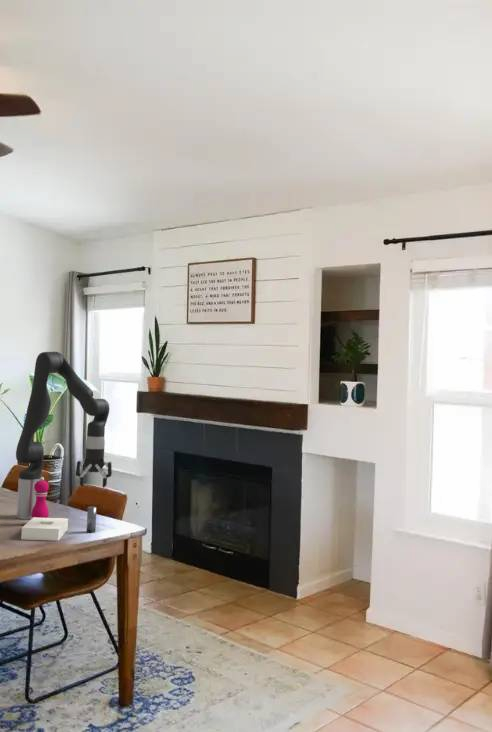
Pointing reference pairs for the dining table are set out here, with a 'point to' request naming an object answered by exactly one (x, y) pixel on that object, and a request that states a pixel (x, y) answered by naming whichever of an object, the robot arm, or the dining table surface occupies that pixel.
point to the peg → (91, 519)
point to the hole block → (44, 529)
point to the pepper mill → (40, 499)
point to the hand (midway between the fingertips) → (93, 486)
